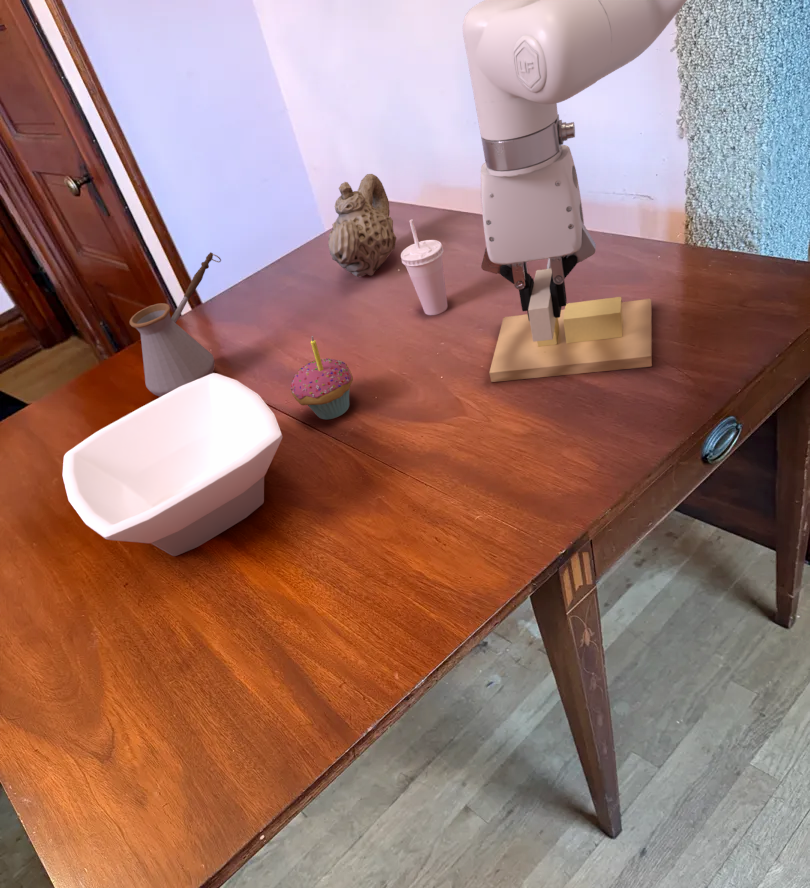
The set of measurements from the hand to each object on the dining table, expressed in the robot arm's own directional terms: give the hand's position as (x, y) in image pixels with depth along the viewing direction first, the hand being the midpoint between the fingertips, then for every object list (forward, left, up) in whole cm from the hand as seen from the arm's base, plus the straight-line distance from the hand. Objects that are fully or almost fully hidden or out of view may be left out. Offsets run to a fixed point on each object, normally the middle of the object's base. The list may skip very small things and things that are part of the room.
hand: (545, 312), depth 86 cm
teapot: (+37, -44, -11) cm, 58 cm away
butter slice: (+2, -10, -9) cm, 13 cm away
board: (-1, -10, -10) cm, 14 cm away
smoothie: (+21, -25, -11) cm, 34 cm away
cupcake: (+31, 0, -11) cm, 33 cm away
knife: (0, -5, -1) cm, 5 cm away
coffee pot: (+58, -15, -11) cm, 60 cm away
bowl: (+43, +19, -11) cm, 48 cm away
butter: (-4, -10, -9) cm, 14 cm away
